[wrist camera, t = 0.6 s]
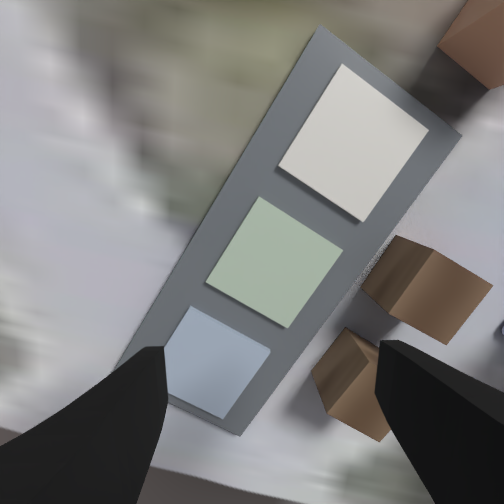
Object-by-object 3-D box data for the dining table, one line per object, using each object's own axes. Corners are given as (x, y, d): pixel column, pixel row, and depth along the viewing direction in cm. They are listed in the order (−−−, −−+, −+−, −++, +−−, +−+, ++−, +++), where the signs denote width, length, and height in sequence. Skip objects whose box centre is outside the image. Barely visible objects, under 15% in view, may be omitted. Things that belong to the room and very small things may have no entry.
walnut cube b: (389, 354, 21) (422, 393, 17) (354, 395, 22) (379, 442, 18) (345, 326, 21) (369, 361, 17) (310, 370, 21) (326, 413, 18)
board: (455, 136, 18) (467, 134, 17) (240, 429, 22) (240, 441, 21) (317, 29, 16) (322, 20, 15) (114, 369, 21) (108, 379, 20)
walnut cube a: (443, 264, 20) (493, 285, 16) (407, 313, 21) (446, 345, 17) (395, 234, 19) (434, 249, 15) (359, 286, 20) (388, 313, 16)
